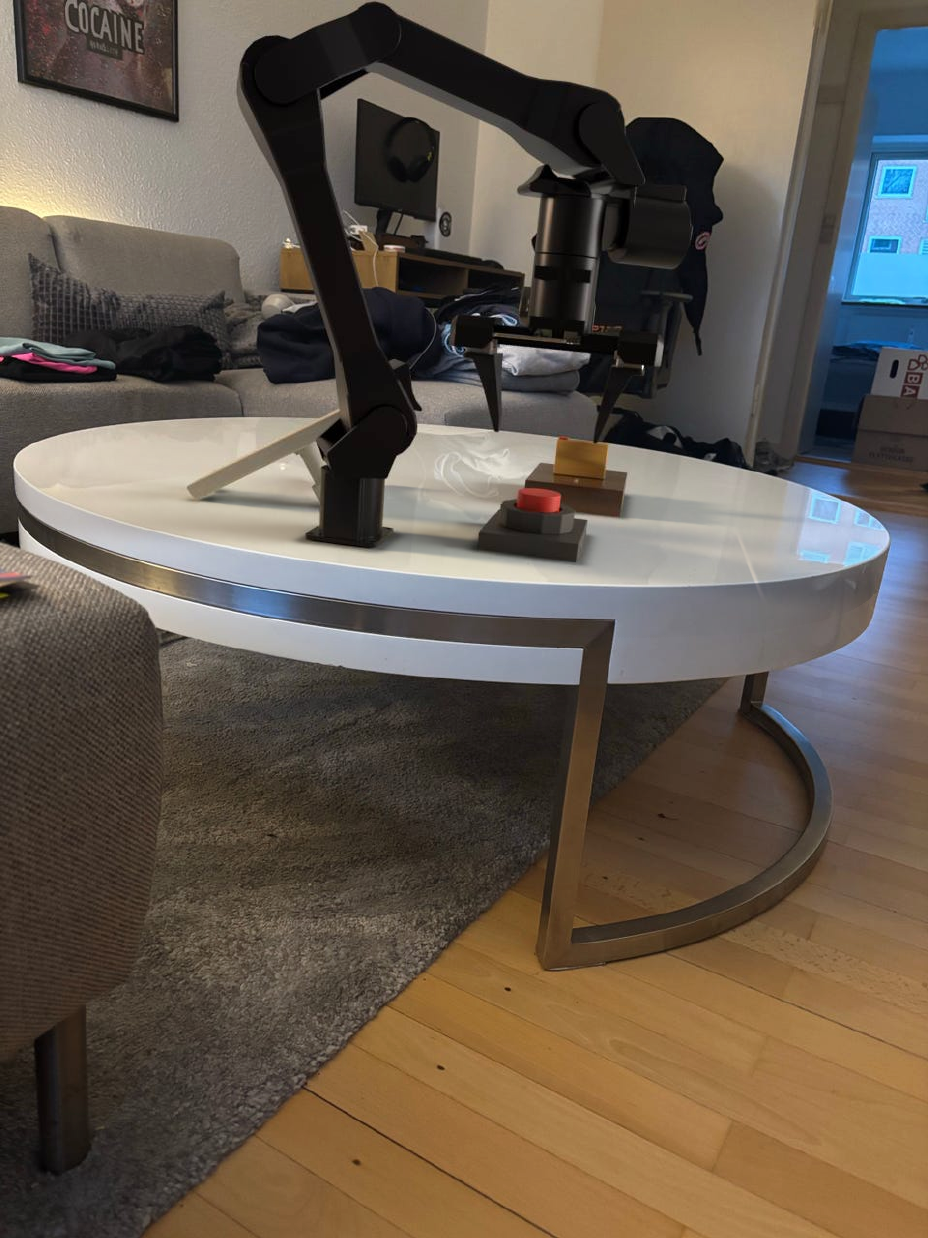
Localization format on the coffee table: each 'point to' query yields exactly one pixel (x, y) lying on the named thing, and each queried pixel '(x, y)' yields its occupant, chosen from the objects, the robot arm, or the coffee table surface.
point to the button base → (534, 532)
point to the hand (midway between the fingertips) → (545, 437)
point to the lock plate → (582, 490)
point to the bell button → (538, 500)
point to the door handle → (271, 458)
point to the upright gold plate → (580, 458)
